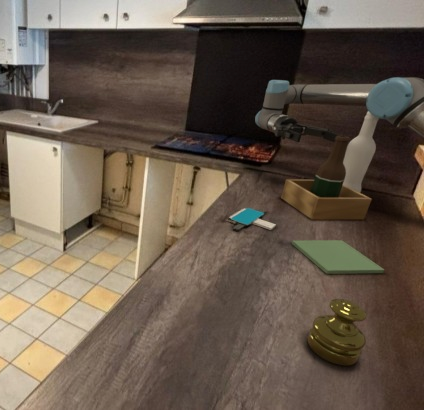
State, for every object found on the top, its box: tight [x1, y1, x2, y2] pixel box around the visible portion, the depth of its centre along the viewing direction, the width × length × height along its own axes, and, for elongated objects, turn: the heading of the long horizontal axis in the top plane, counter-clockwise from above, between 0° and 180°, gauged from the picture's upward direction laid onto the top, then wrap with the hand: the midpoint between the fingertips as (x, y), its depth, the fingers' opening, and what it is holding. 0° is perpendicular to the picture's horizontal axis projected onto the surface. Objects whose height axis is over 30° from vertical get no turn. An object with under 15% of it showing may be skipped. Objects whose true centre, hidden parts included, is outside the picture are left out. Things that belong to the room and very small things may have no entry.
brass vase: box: [307, 298, 368, 366], centre depth 60 cm, size 7×7×10 cm
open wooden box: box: [280, 178, 373, 220], centre depth 117 cm, size 17×17×7 cm
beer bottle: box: [311, 134, 351, 198], centre depth 113 cm, size 8×8×24 cm
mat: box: [291, 239, 385, 275], centre depth 90 cm, size 14×14×1 cm
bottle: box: [343, 110, 380, 193], centre depth 123 cm, size 8×8×30 cm
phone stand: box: [224, 206, 277, 232], centre depth 107 cm, size 20×12×2 cm, turn 134°
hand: (319, 138), depth 119 cm, fingers open, 13 cm apart
